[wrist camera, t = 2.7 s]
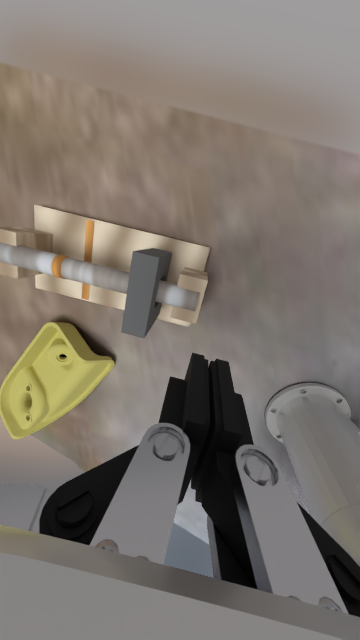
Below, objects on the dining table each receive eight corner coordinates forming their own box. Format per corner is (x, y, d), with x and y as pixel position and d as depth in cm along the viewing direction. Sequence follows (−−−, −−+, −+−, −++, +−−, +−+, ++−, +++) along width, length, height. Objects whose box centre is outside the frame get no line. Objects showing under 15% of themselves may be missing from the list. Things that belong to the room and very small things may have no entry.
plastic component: (51, 315, 32) (86, 367, 30) (89, 317, 39) (120, 359, 36) (-9, 397, 37) (16, 448, 35) (34, 386, 44) (58, 428, 41)
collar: (172, 252, 27) (159, 257, 19) (159, 313, 29) (144, 338, 22) (153, 247, 27) (132, 251, 19) (142, 308, 29) (121, 332, 22)
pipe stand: (213, 248, 29) (216, 251, 21) (193, 323, 33) (189, 350, 25) (39, 205, 29) (-21, 193, 22) (39, 284, 33) (-11, 298, 25)
